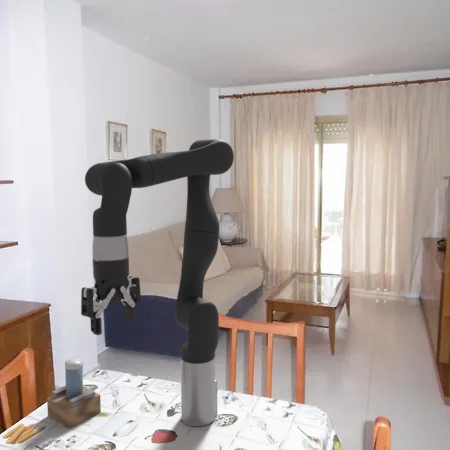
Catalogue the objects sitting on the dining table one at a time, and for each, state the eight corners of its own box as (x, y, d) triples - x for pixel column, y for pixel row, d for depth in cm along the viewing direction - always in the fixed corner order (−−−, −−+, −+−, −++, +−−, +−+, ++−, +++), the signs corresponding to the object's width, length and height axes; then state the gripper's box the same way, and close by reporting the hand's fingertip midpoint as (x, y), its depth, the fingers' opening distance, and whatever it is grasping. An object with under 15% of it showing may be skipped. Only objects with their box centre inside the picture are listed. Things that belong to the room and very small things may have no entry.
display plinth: (79, 400, 127) (78, 379, 126) (100, 411, 121) (99, 389, 120) (47, 415, 119) (46, 393, 118) (69, 428, 113) (68, 404, 112)
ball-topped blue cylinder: (77, 390, 122) (77, 356, 121) (86, 396, 119) (86, 361, 118) (62, 396, 119) (61, 361, 118) (71, 402, 116) (70, 366, 115)
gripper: (125, 249, 101) (127, 317, 103) (71, 258, 89) (74, 334, 91) (147, 253, 96) (149, 323, 98) (93, 262, 85) (96, 342, 87)
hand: (113, 328), depth 95 cm, fingers open, 8 cm apart
